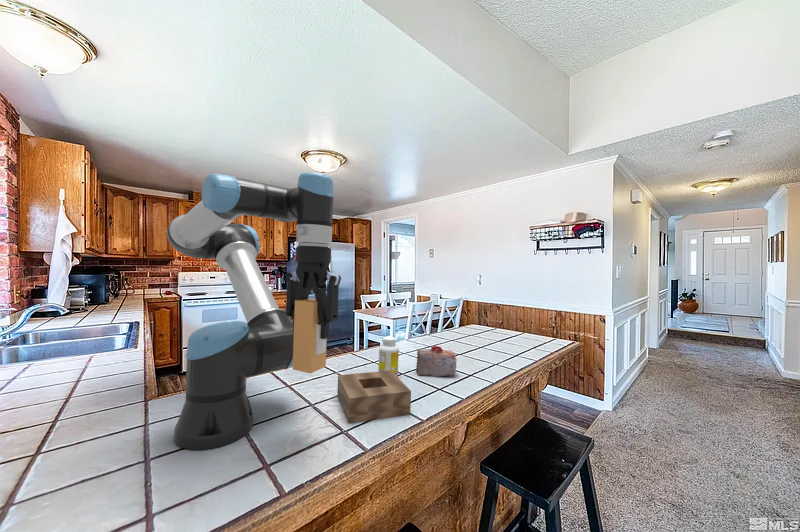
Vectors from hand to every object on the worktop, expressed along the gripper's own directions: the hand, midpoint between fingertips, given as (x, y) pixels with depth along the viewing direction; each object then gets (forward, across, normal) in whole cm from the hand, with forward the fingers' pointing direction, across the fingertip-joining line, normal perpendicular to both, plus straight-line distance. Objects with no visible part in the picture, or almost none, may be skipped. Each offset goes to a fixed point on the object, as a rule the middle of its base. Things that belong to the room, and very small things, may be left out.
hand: (309, 350), depth 70 cm
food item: (+19, +13, +52) cm, 57 cm away
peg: (+4, 0, 0) cm, 4 cm away
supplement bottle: (+19, -1, +42) cm, 46 cm away
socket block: (+19, +5, +20) cm, 28 cm away
